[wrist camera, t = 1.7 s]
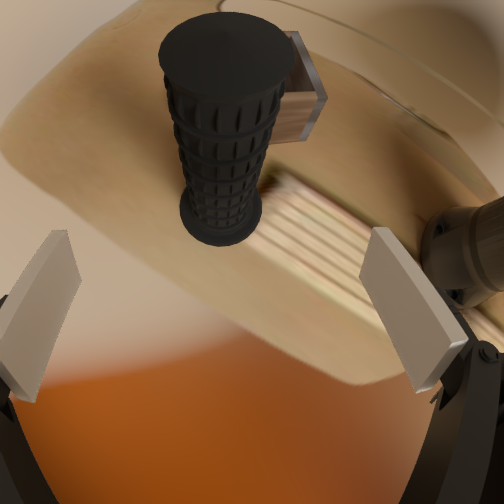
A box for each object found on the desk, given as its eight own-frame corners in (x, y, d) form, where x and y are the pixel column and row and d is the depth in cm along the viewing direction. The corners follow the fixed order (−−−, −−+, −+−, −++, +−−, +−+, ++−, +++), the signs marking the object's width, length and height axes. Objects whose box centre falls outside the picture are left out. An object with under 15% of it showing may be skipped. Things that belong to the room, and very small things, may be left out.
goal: (306, 140, 41) (327, 97, 31) (241, 148, 40) (248, 102, 30) (284, 76, 43) (297, 31, 33) (226, 81, 42) (229, 33, 32)
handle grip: (173, 178, 38) (189, 255, 37) (123, 3, 12) (128, 135, 11) (250, 162, 40) (271, 235, 38) (291, -16, 14) (362, 99, 12)
